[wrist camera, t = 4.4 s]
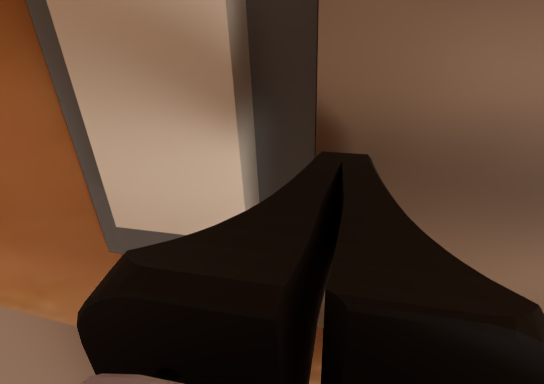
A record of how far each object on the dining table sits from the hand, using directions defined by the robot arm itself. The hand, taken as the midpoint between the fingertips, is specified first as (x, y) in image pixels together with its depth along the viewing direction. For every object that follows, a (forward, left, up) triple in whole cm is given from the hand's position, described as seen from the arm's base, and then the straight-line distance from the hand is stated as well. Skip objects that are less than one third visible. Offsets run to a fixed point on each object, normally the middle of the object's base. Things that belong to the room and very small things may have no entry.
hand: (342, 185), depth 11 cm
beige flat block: (0, +7, -2) cm, 7 cm away
